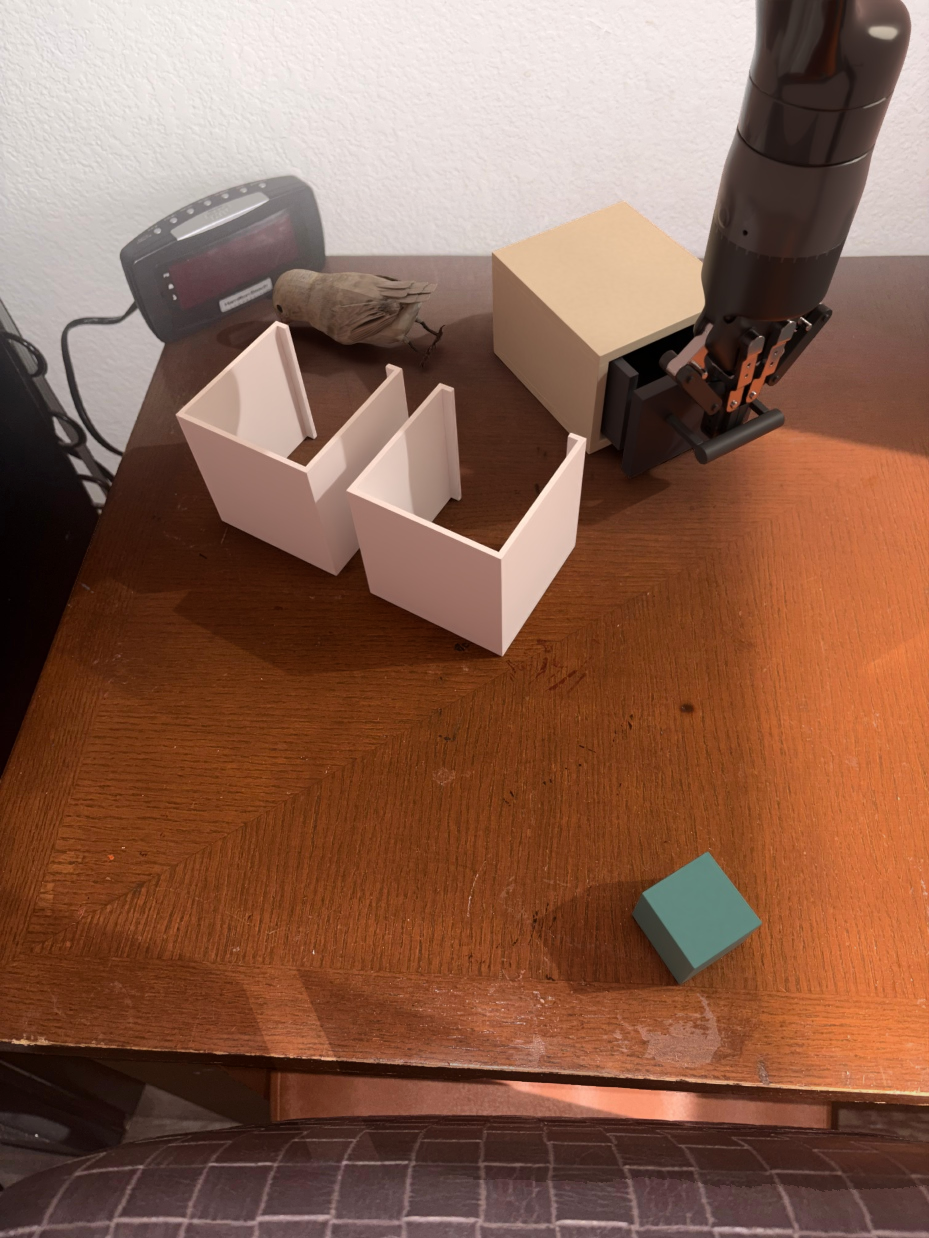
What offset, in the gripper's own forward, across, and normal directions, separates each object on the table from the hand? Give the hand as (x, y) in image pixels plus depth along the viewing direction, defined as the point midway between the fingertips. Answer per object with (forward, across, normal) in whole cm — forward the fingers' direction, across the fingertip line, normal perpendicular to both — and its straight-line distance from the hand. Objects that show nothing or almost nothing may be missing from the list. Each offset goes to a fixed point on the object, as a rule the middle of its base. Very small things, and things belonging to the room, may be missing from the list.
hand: (719, 436), depth 62 cm
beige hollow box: (+4, 0, +14) cm, 15 cm away
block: (+4, -22, -26) cm, 35 cm away
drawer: (+3, 0, +7) cm, 8 cm away
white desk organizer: (+5, -23, +8) cm, 25 cm away
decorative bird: (+5, -16, +30) cm, 34 cm away
